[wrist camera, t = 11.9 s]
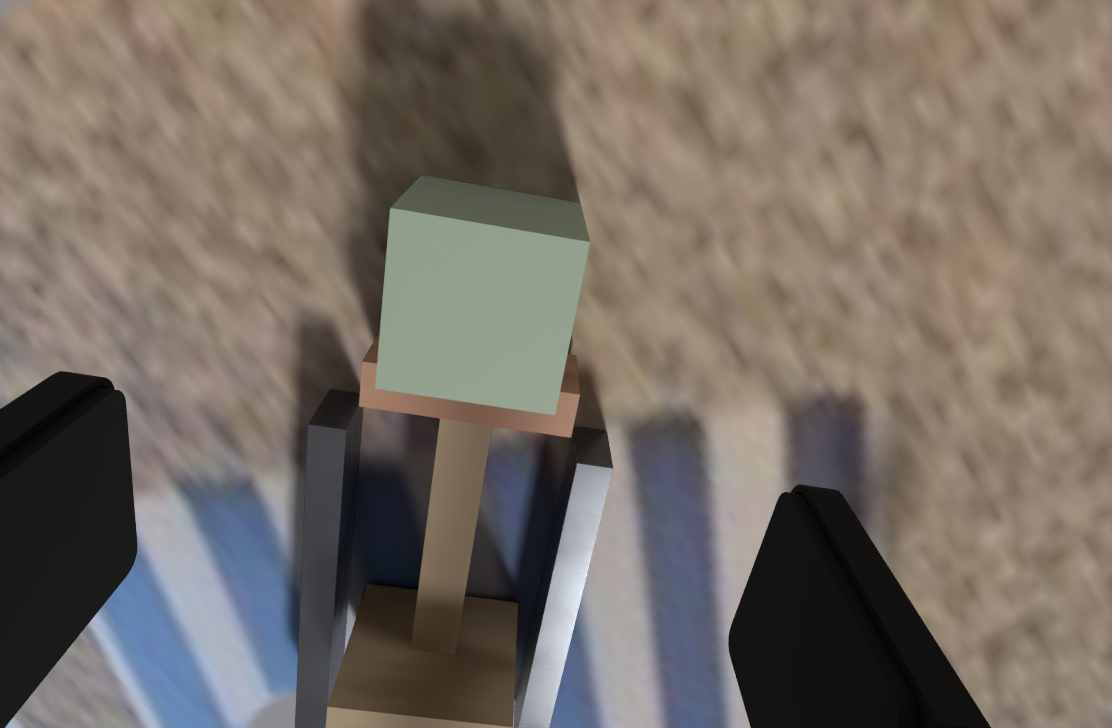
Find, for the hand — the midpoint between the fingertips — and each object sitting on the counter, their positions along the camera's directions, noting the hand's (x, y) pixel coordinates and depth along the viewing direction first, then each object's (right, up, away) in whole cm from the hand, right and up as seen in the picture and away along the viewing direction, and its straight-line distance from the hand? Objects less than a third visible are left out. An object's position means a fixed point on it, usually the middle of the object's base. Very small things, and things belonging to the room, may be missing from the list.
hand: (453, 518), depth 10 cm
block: (-1, +5, +13) cm, 14 cm away
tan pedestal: (-2, -3, +16) cm, 17 cm away
